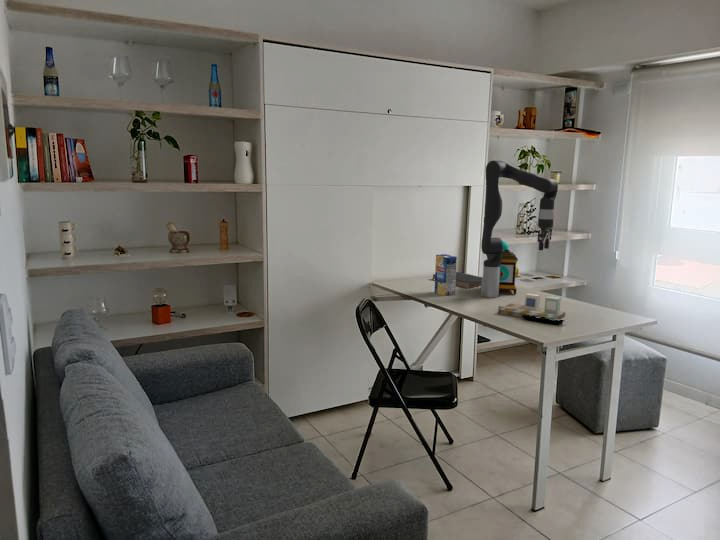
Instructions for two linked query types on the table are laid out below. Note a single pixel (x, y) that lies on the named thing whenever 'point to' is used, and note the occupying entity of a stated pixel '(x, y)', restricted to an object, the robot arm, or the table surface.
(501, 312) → the walnut shelf
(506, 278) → the decorative lantern
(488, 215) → the robot arm
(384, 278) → the table surface
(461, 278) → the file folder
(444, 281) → the beverage box
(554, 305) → the green carton
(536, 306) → the cream carton
